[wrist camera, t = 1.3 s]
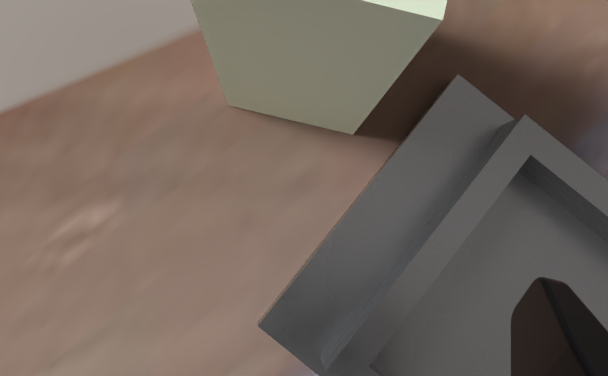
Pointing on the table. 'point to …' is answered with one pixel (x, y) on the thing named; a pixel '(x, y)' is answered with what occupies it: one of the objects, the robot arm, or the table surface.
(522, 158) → the grey rectangular tray
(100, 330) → the table surface
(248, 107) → the sage block
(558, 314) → the robot arm
